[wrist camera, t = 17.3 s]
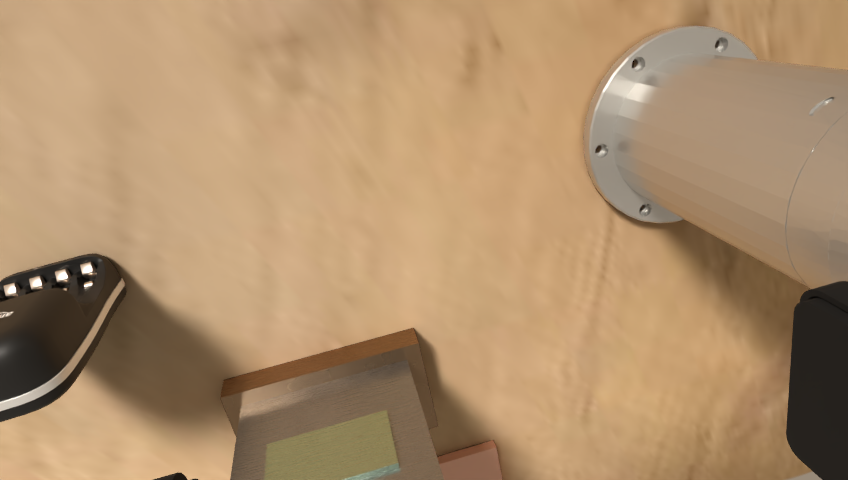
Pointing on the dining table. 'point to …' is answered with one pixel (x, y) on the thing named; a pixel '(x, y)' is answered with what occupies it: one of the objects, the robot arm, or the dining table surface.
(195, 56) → the dining table surface
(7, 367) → the battery charger
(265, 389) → the grey unit
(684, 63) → the robot arm
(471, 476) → the terracotta pad
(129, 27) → the dining table surface
